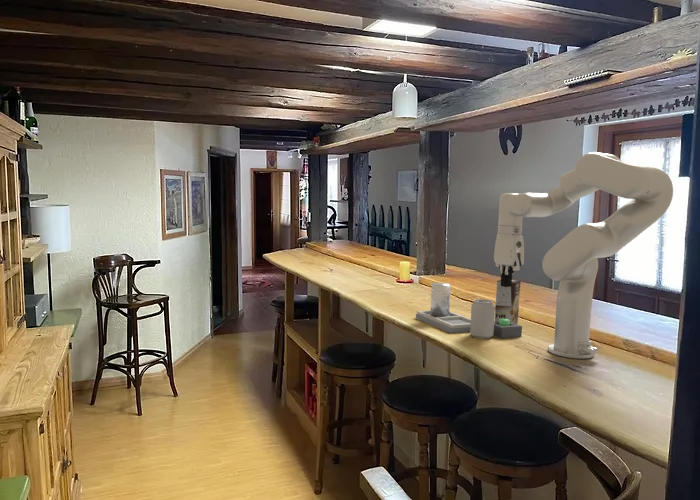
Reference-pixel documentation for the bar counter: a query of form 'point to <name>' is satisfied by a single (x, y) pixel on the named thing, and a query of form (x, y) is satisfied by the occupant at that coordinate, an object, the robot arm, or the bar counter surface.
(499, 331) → the console
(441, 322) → the grey compartment tray
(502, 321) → the button
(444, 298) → the block
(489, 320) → the can
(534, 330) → the bar counter surface
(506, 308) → the coffee box
